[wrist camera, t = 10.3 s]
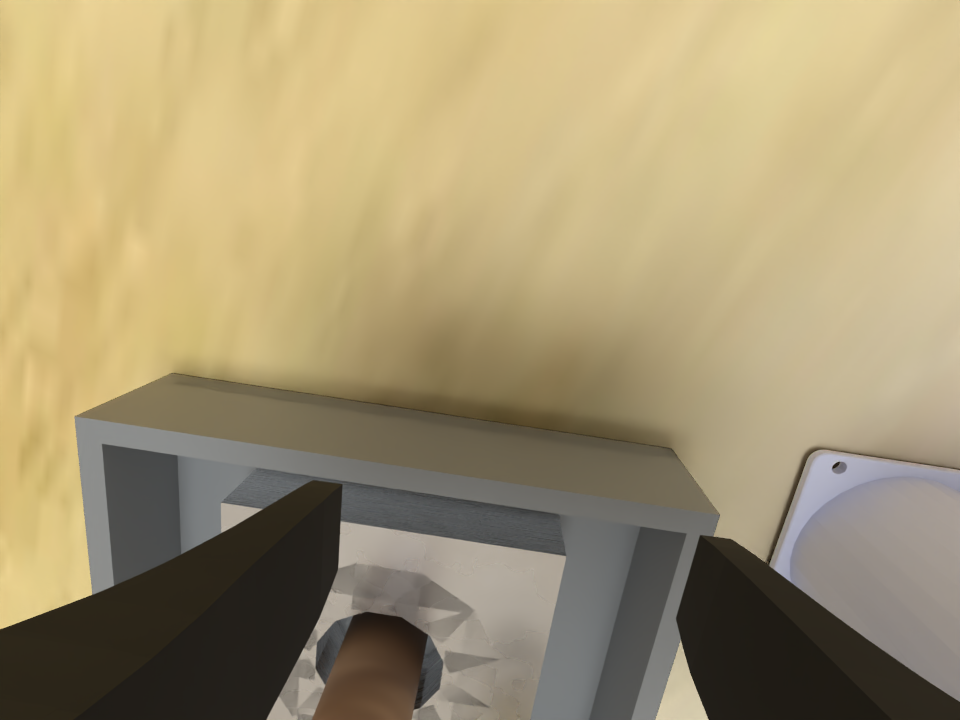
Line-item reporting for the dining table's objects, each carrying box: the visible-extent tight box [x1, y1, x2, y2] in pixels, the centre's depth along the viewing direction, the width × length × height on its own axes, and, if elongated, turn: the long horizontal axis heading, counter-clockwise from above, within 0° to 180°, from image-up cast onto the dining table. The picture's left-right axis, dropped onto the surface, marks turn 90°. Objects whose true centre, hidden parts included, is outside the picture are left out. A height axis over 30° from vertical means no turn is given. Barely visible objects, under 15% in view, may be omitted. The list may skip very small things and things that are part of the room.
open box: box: [75, 373, 720, 720], centre depth 19 cm, size 20×18×4 cm
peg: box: [312, 612, 428, 720], centre depth 17 cm, size 3×3×8 cm
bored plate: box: [221, 468, 566, 720], centre depth 19 cm, size 12×12×2 cm
